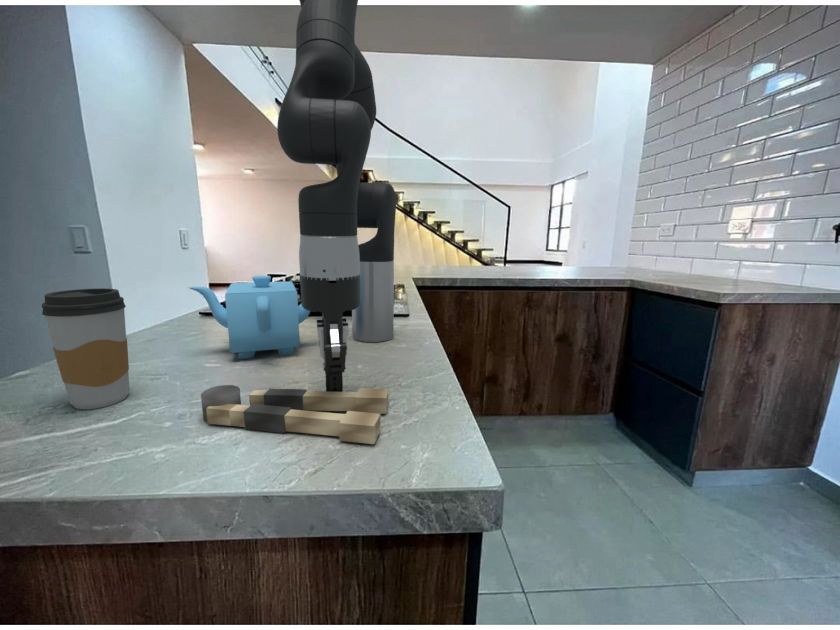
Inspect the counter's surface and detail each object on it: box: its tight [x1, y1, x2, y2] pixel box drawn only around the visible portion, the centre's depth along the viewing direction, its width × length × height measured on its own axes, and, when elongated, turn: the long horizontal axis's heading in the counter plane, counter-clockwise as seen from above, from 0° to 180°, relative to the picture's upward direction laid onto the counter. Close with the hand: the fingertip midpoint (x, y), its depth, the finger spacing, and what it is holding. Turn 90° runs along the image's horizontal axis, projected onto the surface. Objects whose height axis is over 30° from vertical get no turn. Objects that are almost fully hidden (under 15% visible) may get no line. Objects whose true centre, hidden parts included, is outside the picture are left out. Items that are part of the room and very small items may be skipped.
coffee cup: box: [41, 288, 131, 410], centre depth 51 cm, size 8×8×15 cm
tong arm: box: [248, 387, 389, 415], centre depth 51 cm, size 18×3×2 cm, turn 90°
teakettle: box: [188, 274, 311, 360], centre depth 76 cm, size 19×19×15 cm
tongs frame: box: [200, 384, 381, 445], centre depth 47 cm, size 23×6×3 cm, turn 82°
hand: (334, 395), depth 53 cm, fingers closed
